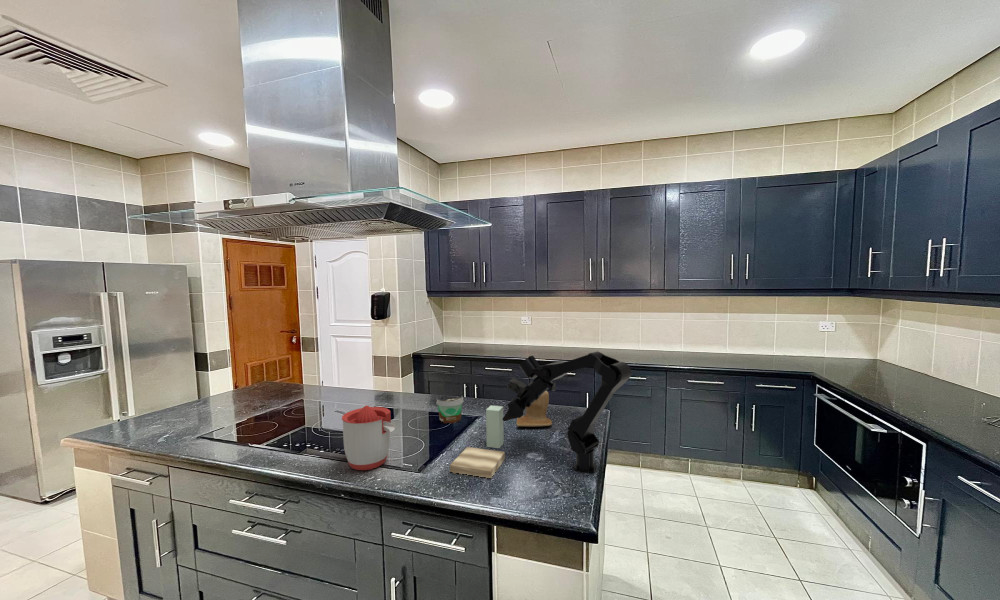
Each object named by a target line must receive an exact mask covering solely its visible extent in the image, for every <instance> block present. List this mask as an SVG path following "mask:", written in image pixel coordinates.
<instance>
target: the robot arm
mask: <svg viewBox="0 0 1000 600" xmlns="http://www.w3.org/2000/svg"><path fill="white" fill-rule="evenodd" d="M518 367H519V368H520V369H521V371H522V372H523V374H524V375H525V377H526V378H527V379H529V380H530V379H531V380H532V381H531V382H529V383H528V384H525V383H524V382H522V380H521V381H520V380H519V379H517V378H515V377H512V378H511V379H510V380H509V382H508V383H507V386H506V388H507V390H509V391H512V392H514V393H516V397H517V398H515V397H513V398H512V399H511V400H510V401H509V402H508V403H507V407H508V409H507V411H506V413H505V414H504V415H503V419H502V420H503V422H507V421H510V420H514V419H517V418H520V417H522V416H525V414H526V407H530V406H531V404H532V403H533V402H534V401H535V400H537V399H538V398H539V397H540V396H541V395H542V394H543V393H544V392H545V391H548V390H549V391H550V392H551V391H552V392H555V391H556V390H557V389H556V387H557V386H556V385H557V383H556V382H553V381H555V380H558V379H561V378H563V377H564V376H567V375H568V374H569V373H571V372H573V371H578V370H582V369H584V368H585V369H586V368H588V367H592V368H593V369H594V370H595V371H596V373H597V374H598V375H600V376H601V378H600V380H601V383H600V386H599V388H598V390H597V392H596V393H595V394H594V396H593V397H592V400H591V401H590V403H589V404H588V406H587V408H586V410H585V411H584V413H583V415H579V416H578V417H576V418H573V419H571V422H570V425H569V426H568V427H567V428H566V429H567V432H566V436H567V439H568V442H569V446H570V449H571V451H572V452H574V453H575V457H576V459H575V464H574V466H573V470H574V471H578V472H586V473H590V474H591V473H593V474H595V472H596V466H597V463H596V462H595V449H596V448H598V447H599V445H600V440H599V439H598V438H597V436H596V434H595V430H596V423H597V421H598V419H599V418H600V416H601V415H602V413H603V411H604V410H605V408H606V406H607V405H608V403H609V402H610V400H611V399H612V397H613V395H614V394H615V393H616V391H617V390H618V389H620V388H621V387H622V386H623V385H624V384H625V383H627V381H628V380H629V379H630V378H631V377H632V373H633V371H632V369H631V367H630V366H629V364H627V363H626V362H624V361H619V360H618V359H616V358H613V357H611V356H608V355H606V354H603V352H599V351H593V352H590V353H588V354H586V355H584V356H580V357H577V358H572V359H570V360H567V361H556V362H551V363H548V364H544V365H542V366H541V365H540V364H539V362H538V361H537V360H536V358H535V355H530V356H528V357H527V358H525V359H524V360H523V361H521V362H520V363H519V365H518Z"/></svg>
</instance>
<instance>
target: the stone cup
mask: <svg viewBox="0 0 1000 600" xmlns="http://www.w3.org/2000/svg"><path fill="white" fill-rule="evenodd" d="M549 402H550V393H549V392H548V390H546V391H545V392H544V393H543V394H542V395H541V396H540V397H539V398H538V399H537V400H535V401H534V402H533V403H532V404H531V406H530V407H525V408H526V412H525V414H524V415H523V416H522V417H520V418H516V423H515V424H516V427H523V428H525V427H527V428H530V427H532V428H533V427H548V426H552V424H553V421H552V420H551V419H550V418H549V417H547V409H548V407H549Z"/></svg>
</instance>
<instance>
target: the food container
mask: <svg viewBox="0 0 1000 600" xmlns="http://www.w3.org/2000/svg"><path fill="white" fill-rule="evenodd" d="M463 403H464V397H463V395H461V396H460V397H458V398H456V397H455V398H447V399H445V400H440V399H438V398H437V400H436V403H435V404H436V405H437V409H438V415H439V422H440V421H441V422H440V423H442V422H443V423H442V424H447V423H450V424H456V423H459V422H460V421H461V420H462V411H463V410H462V409H463ZM458 421H459V422H458ZM455 422H456V423H455Z"/></svg>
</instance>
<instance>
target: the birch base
mask: <svg viewBox="0 0 1000 600" xmlns="http://www.w3.org/2000/svg"><path fill="white" fill-rule="evenodd" d="M505 455H506V452H505V451H501V450H500V451H499V450H492V449H485V448H477V447H470V446H467V447H465V449H464V450H463V451H462V452H461V453H460V454H459V455H458V456H457V457H456V458H455V459H454V460H453V461H452V462H451V463H450V465H449V473H450V472H453V473H452V474H456V473H459V474H458V475H462V474H467V475H466V476H468V475H473V476H472V477H474V476H479V477H478V478H480V477H486V478H485V479H487V478H493V477H494V476H495V474H496V473H497V472H498V470H499V468H500V467H501V466H502V464H503V462H505V459H506V456H505ZM495 472H496V473H495ZM493 475H494V476H493ZM492 476H493V477H492Z"/></svg>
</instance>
